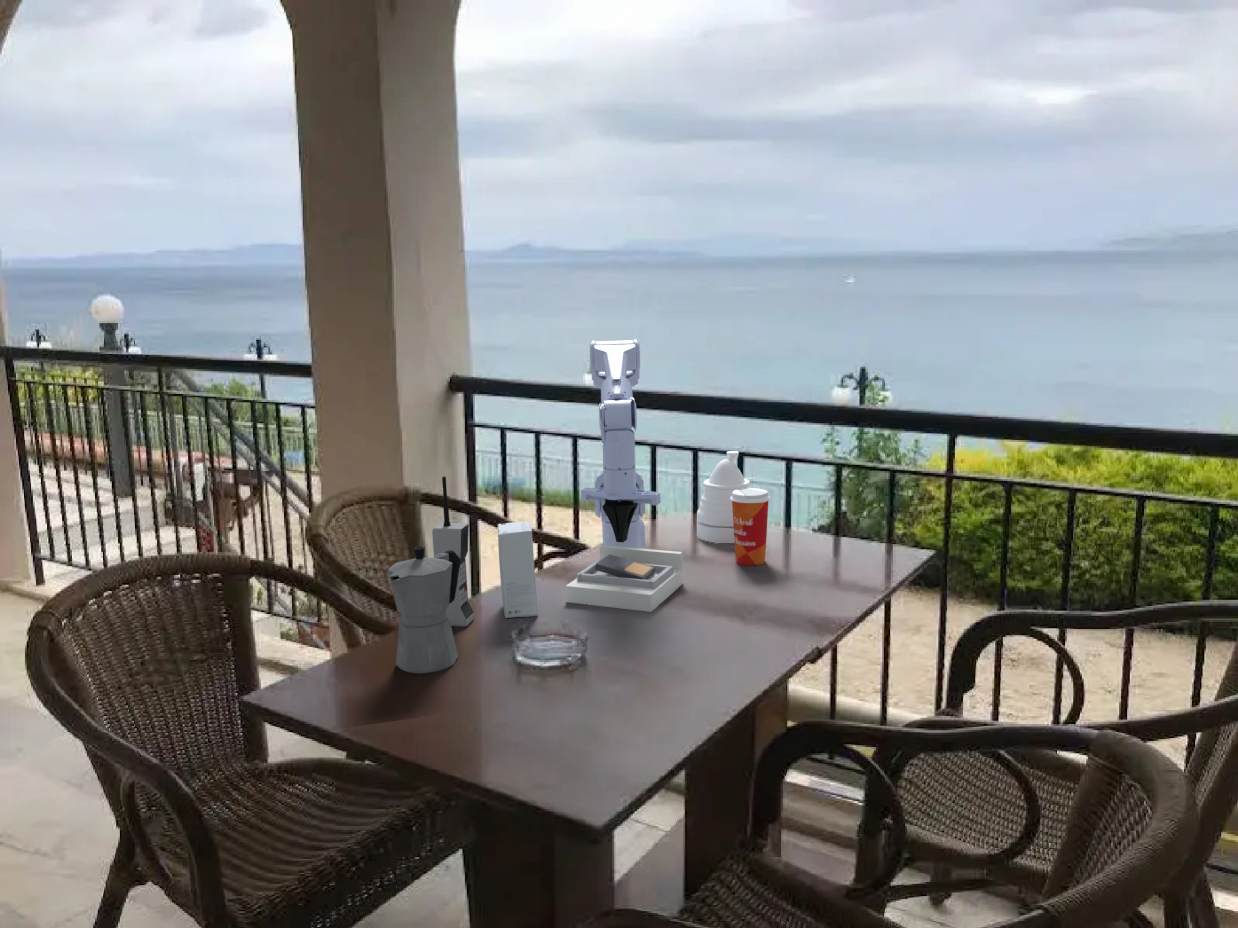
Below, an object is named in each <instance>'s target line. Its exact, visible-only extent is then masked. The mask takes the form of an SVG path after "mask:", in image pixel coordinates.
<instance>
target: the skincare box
mask: <svg viewBox="0 0 1238 928" xmlns="http://www.w3.org/2000/svg"><path fill="white" fill-rule="evenodd" d="M532 529H533V528H532V524H531V521H530V520H528V521H527V520H525V521H515V522H505V523H498V524H497V540H498V541H497V542H498V543H497V544H498V565H499V576H500V589H501V590H500V591H501V600H502V608H503V613H504V618H507V619H508V618H509V619H510V618H518V617H519V618H521V617H522V618H523V617H538V616H539V608H538V597H537V585H536V583H537V582H536V570H535V559H534V557H535V556H534V555H535V554H534V541H533V530H532Z"/></svg>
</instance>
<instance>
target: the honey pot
mask: <svg viewBox="0 0 1238 928" xmlns="http://www.w3.org/2000/svg"><path fill="white" fill-rule="evenodd" d="M739 453H740V452H739V451H737V450H729V451H726V458H725V459H722V460H720V461H719V462H718V463H717V464H716V466H715V467H714V469H713V471H711V475H710V476H709V478H707V479H705V480H704V481H703V482H702V485H703V487H704V488H705V489H704V491H703V494H702V495H701V497H700V498H701V501H700V503H699V508H698V510H697V511H696V537H697V536H698V537H699V538H700V539H702V540H701V541H703V540H705V541H704V542H706V541H709V542H708V543H711V542H715V543H714V544H718V543H735V540H734V525H733V510H732V500H731V499H730V497H731V496H732V492H733V491H734V490H739V489H746V488H749V486H751V481H750V480H749V479H748V478H747V479H746V478H745V477H744V476H743V473H742V472H741V470H740V468H739V467H738V466H737V465H736V463H735V461H736V460H737V459H738V458H739ZM698 537H697V538H698ZM699 538H698V539H699ZM700 539H699V540H700Z"/></svg>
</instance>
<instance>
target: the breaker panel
mask: <svg viewBox="0 0 1238 928" xmlns="http://www.w3.org/2000/svg"><path fill="white" fill-rule="evenodd" d="M609 554H610V555H613V556H617V557H620V558H624V559H627V560H631V561H634V562H638V563H641V564H645V565H648V566H652V567H655V571H654V574H653V575H652V576H650V577H649V578H648V579H647V580H643V579H633V578H623V577H618V576H614V575H611V574H607V573H604V572H601V571H597V570H595V567H596V563H598V562H599V561H601V560H602V559H604V558H605V557H606V556H608V555H609ZM683 561H684V559H683V551H674V550H663V549H651V548H645V549H641V548H630V547H618V546H607V545H603V544H602V545H600V546H599V559H597V560H596V561H595V562H594V561H593V563H591V564H590V565H588V566H587V567H586V568H584V569H583V570H581V571H580V572H578V573H577V574H576V578H575V579H574V580H572V581H571V582H569V583H568V584H566V585H565V599H566V600H565V602H566V603H568V604H569V603H570V604H580V605H586V604H587V606H596V607H605V608H615V609H624V610H630V611H631V610H632V611H638V612H639V611H640V612H649V613H652V612H653V611H654V610H655V609H656V608H658V607H659V606H660V605H661V604H662V603H664V601H666V600H667V598H669V597H670V596H671V595H672V594H673V593H674V592H675V591H677V590H678V589H679V588H680V587H681V586H683V584H684V569H683V568H684V567H683V566H684V565H683V564H684V563H683ZM659 604H660V605H659Z"/></svg>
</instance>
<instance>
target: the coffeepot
mask: <svg viewBox="0 0 1238 928" xmlns="http://www.w3.org/2000/svg"><path fill="white" fill-rule="evenodd" d="M425 549H426V547H425V546H420V545H419V546H415V547H414V548H413V552H414V557H415V558H412V559H406V560H403V561H402V560H401V561H398V562H395V563H394V564H393V565H391V566H390V567H389V568H388V569H387V573H388V578H387V582H388V584H389V585H390V586H391V589H392V593H393V598H394V602H395V607H396V611H397V612H398V613H400V624H399V628H398V635H397V636H398V638H397V648H396V649H397V650H396V656H395V657H396V658H395V665H396V666H397V667H398V669H400V670H401V671H403V672H406V673H410V674H428V673H429V674H430V673H436V672H439V671H443V670H446V669H448V668H450V667H452V666H453V665H454V664H455V663H456V661H457V659H458V657H459V653H458V649H457V646H456V642H455V638H454V637H455V636H454V634H453V629H452V626H451V625H450V621H449V619H448V618H447V615H446V608H447V607H448V605H449V604H450V603H451V602H453V601H454V599H455V594H456V588H457V582H458V575H459V569H460V557H459V556H458V555H457V554H456V553H455V552H454V551H453V550H448V551H446V552H444V553H440V554H437V555H435V558H434V557H425Z"/></svg>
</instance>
